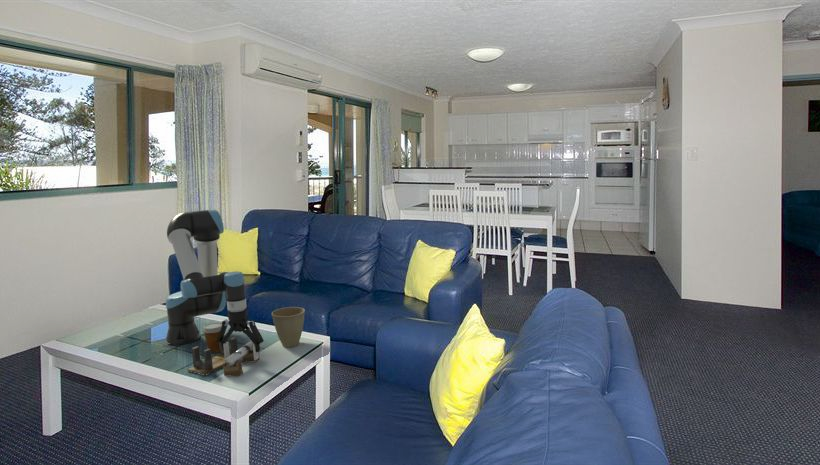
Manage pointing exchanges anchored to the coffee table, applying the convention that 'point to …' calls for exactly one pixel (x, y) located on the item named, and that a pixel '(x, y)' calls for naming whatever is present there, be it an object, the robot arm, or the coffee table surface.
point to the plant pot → (289, 325)
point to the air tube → (239, 354)
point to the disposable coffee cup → (212, 336)
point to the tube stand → (238, 365)
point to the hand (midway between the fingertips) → (241, 358)
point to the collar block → (210, 358)
